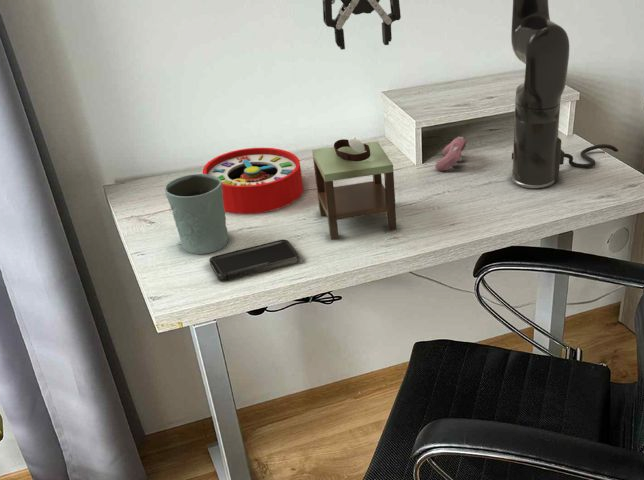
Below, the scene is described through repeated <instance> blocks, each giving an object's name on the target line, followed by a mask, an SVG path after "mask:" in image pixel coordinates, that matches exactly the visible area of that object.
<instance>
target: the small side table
mask: <svg viewBox="0 0 644 480" xmlns="http://www.w3.org/2000/svg"><path fill="white" fill-rule="evenodd" d="M363 143H364V144H367V145H368V146H369V148H370V154H371V155H370V157H369V158H368V159H366V160H363V161H350V160H348V161H347V160H343V159H342V158H340V157H338V156H337V155H336V152H335V149H334V146H332V147H323V148H316V149H312V151H311V153H312V160H313V161H312V162H313V168H314V178H315V187H316V194H317V202H318V211H319V215H320V216H321V217H323V216H326V217H327V224H328V232H329V237H330V239H331V240H332V241H334V240H338V239H339V238H340V235H339V226H338V225H339V224H338V220H345V219H352V218H357V217H364V216H372V215H377V214H378V215H379V214H383V213H386V226H387V230H388V231H396V230H397V229H398V228H397V210H396V191H395V190H396V189H395V171H394V164H393V162H392V160H391V159H390V158H389V156H388V155H387V153H386V151H385V150H384V148H383V147H382V145H380V143H379V141H378V140H376V141H369V142H363ZM338 151H340V152H341V151H342V152H344V153H349V154H361V153H358V152H356V151H354V150H353V149H352V148H351V147H341V148H339V149H338ZM364 152H366V151H363V152H362V153H364ZM382 174H383V177H384V179H383V180H384V185H383V182H382V181H383V180H382ZM369 176H372V181H365V182H358V183H351V184H346V185H339V186H334V182H335V181H341V180H349V179H354V178H361V177H369ZM339 240H340V239H339Z"/></svg>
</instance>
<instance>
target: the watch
mask: <svg viewBox="0 0 644 480" xmlns="http://www.w3.org/2000/svg"><path fill="white" fill-rule="evenodd" d="M364 143H365V142H364V141H363V140H362V139H361V138H359V137H357V136H353V137H351V138H350V139H346V138H345V139H344V138H343V139H338V140H336V141H334V143H333V147H334V149H335V152H336V155H337V156H338V157H340V158H342V159H343V160H347V161H348V160H350V161H363V160H366V159H368V158H369V157H370V155H371V154H370V148H369V146H368V145H367V144H364ZM341 147H351V148H352V149H353V150H354V151H356V152H358V153H361V154H349V153H344V152H342V151H341V152H340V151H338V149H339V148H341ZM363 151H366V152H364V153H362V152H363Z"/></svg>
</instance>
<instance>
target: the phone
mask: <svg viewBox="0 0 644 480" xmlns="http://www.w3.org/2000/svg"><path fill="white" fill-rule="evenodd" d="M208 261H209V265H210V267H211V269H212V271H213V273H214V274H215V276H216V278H217V279H218V281H220V282H227V281H231V280H235V279H239V278H242V277H247V276H251V275H254V274H258V273H262V272H266V271H270V270H274V269H278V268H281V267H285V266H290V265H293V264H296V263H298V262H300V256H299V253H298V251H297V250H296V249H295V248H294V246H293V245H292V244H291V243H290V241H289V240H287V239H278V240H275V241H270V242H266V243H262V244H257V245H254V246H249V247H246V248H242V249H238V250H233V251H230V252H229V251H228V252H224V253H221V254H218V255H217V254H216V255H214V256H213V255H212V256H211V257H209V258H208Z"/></svg>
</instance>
